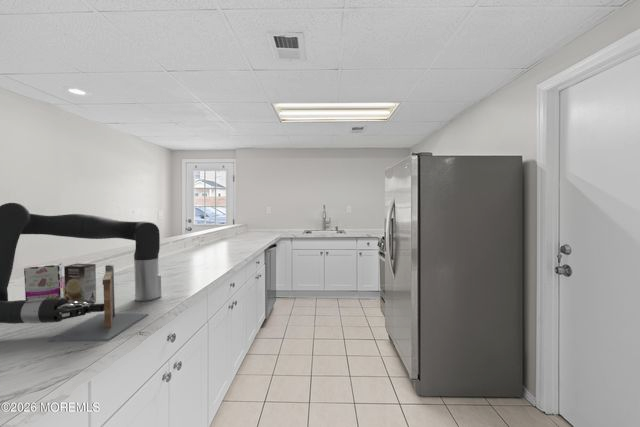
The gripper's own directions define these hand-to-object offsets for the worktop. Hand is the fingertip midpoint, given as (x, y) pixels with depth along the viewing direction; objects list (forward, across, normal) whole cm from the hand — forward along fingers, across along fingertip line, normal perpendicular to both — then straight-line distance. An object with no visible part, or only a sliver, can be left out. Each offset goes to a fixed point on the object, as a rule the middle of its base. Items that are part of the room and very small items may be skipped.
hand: (104, 307), depth 104 cm
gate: (+1, +1, +5) cm, 5 cm away
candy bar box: (-37, +32, +7) cm, 50 cm away
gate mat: (-1, +2, +7) cm, 7 cm away
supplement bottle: (-36, +45, +7) cm, 58 cm away
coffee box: (-24, +32, +7) cm, 40 cm away
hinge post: (-3, +10, +7) cm, 13 cm away
